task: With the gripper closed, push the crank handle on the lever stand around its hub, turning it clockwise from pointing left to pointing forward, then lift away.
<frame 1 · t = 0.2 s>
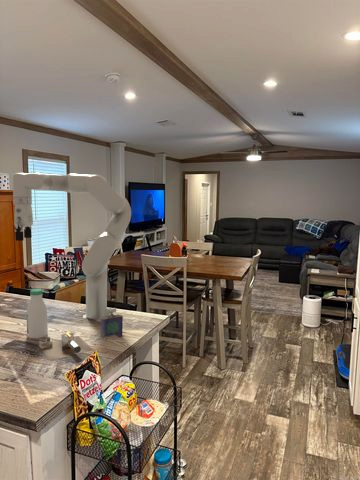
hand: (23, 239, 162), 37 cm above the counter, tool pointing down, fingers open, 9 cm apart
milk bottle: (37, 338, 145), on the counter
lever stand: (65, 351, 134), on the counter
crank handle: (71, 343, 131), point 4 cm above the counter, hinge at 90.0°
flask: (111, 338, 147), on the counter
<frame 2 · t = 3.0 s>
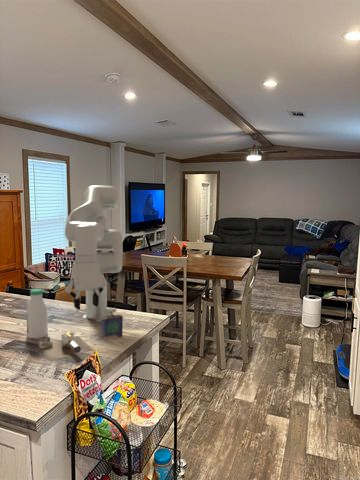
hand: (86, 306, 131), 18 cm above the counter, tool pointing down, fingers open, 6 cm apart
nothing on the counter moved.
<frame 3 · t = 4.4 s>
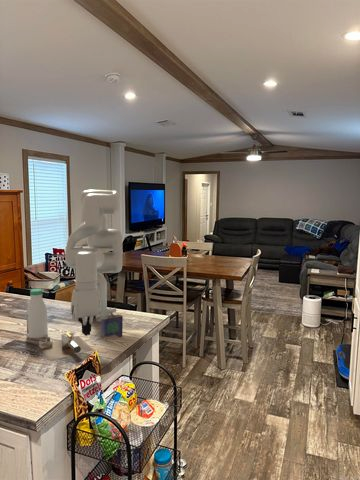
hand: (86, 334, 132), 7 cm above the counter, tool pointing down, fingers closed
nothing on the counter moved.
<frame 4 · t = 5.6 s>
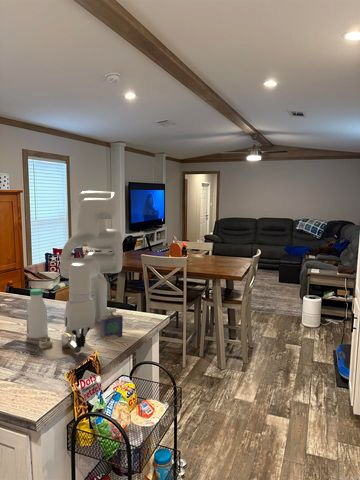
hand: (80, 345, 130), 4 cm above the counter, tool pointing down, fingers closed
crank handle: (71, 343, 131), point 4 cm above the counter, hinge at 89.9°, touching gripper
everything else where it was.
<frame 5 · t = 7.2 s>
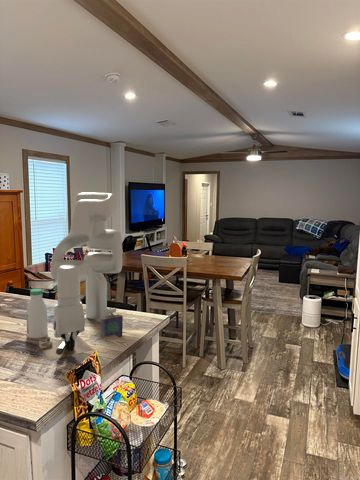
hand: (70, 349, 128), 3 cm above the counter, tool pointing down, fingers closed
crank handle: (64, 344, 130), point 4 cm above the counter, hinge at 54.0°, touching gripper
everything else where it was.
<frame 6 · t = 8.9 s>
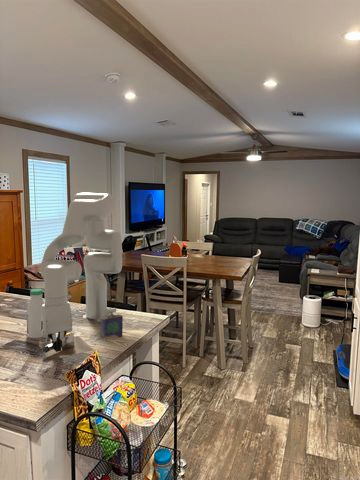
hand: (57, 350, 127), 3 cm above the counter, tool pointing down, fingers closed
crank handle: (58, 343, 130), point 4 cm above the counter, hinge at 20.8°, touching gripper
everything else where it was.
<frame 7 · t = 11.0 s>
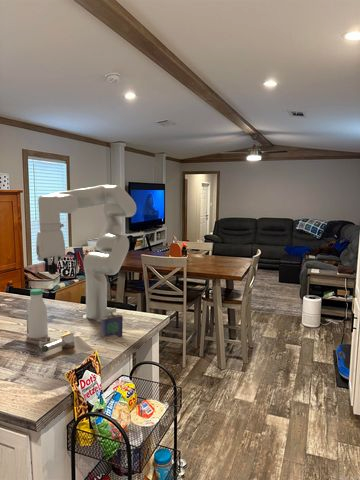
hand: (52, 273, 141), 27 cm above the counter, tool pointing down, fingers closed
crank handle: (58, 343, 130), point 4 cm above the counter, hinge at 17.1°
everything else where it was.
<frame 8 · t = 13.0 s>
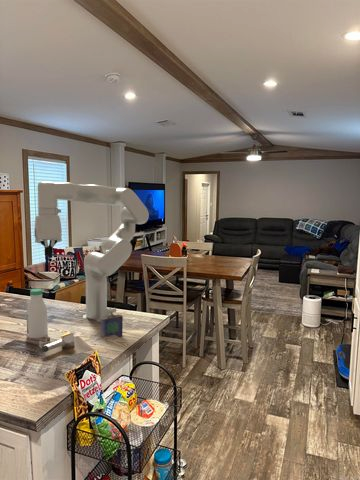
hand: (48, 256, 150), 32 cm above the counter, tool pointing down, fingers closed
nothing on the counter moved.
at the end: crank handle at +17° (first picture: +90°) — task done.
